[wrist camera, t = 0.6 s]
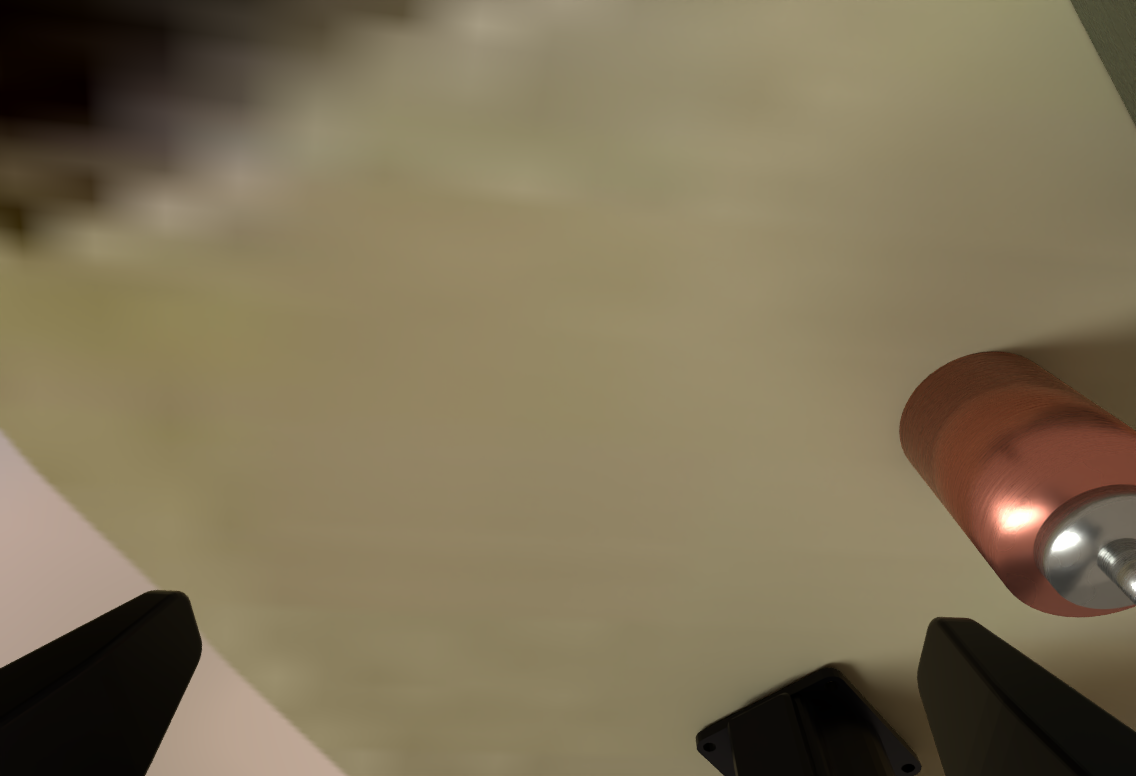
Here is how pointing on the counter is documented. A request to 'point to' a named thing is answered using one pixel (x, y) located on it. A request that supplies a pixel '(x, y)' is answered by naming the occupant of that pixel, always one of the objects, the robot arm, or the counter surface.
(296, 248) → the counter surface
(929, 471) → the spout can
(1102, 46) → the grey piece
